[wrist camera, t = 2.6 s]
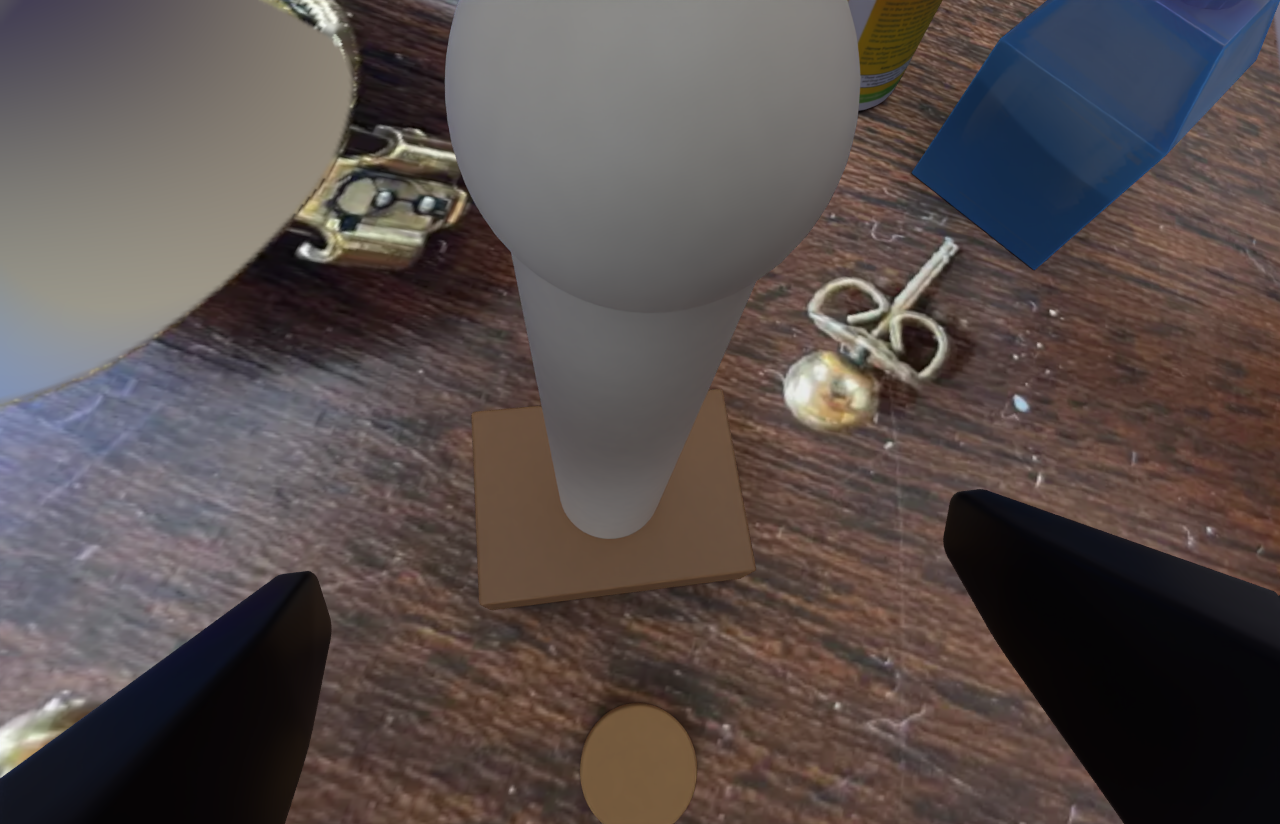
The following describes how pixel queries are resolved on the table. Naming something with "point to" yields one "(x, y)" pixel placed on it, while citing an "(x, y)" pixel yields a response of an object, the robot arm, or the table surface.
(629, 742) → the disc
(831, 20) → the stamp
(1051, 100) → the perfume bottle
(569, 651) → the table surface
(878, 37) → the supplement bottle
